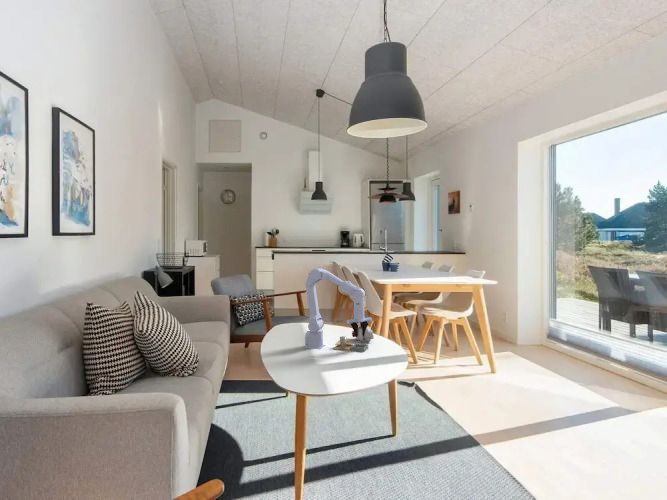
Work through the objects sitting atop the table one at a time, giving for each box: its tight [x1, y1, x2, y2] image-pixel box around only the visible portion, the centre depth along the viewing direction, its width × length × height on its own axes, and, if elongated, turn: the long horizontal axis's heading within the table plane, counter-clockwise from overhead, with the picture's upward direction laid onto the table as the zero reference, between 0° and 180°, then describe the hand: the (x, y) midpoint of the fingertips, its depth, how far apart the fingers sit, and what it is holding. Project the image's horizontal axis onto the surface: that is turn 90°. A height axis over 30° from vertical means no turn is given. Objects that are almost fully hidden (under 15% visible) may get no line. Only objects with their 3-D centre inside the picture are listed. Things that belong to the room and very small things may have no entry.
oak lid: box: [334, 339, 355, 346], centre depth 244 cm, size 9×9×2 cm
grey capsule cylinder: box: [339, 335, 347, 348], centre depth 236 cm, size 3×3×6 cm
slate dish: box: [351, 343, 369, 353], centre depth 231 cm, size 7×7×2 cm
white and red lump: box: [351, 325, 374, 343], centre depth 250 cm, size 9×11×15 cm
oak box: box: [333, 343, 355, 352], centre depth 234 cm, size 9×9×2 cm
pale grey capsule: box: [355, 327, 363, 341], centre depth 231 cm, size 3×3×6 cm
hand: (359, 336), depth 230 cm, fingers closed on pale grey capsule, 3 cm apart
